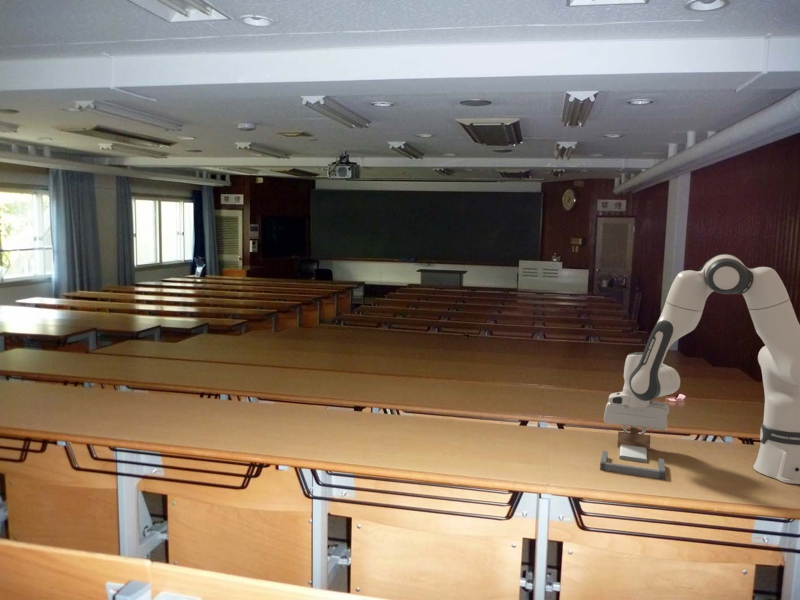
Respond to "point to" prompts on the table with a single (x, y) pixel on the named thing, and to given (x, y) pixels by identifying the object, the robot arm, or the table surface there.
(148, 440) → the table surface
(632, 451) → the hard drive
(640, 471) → the bay
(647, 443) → the pusher
